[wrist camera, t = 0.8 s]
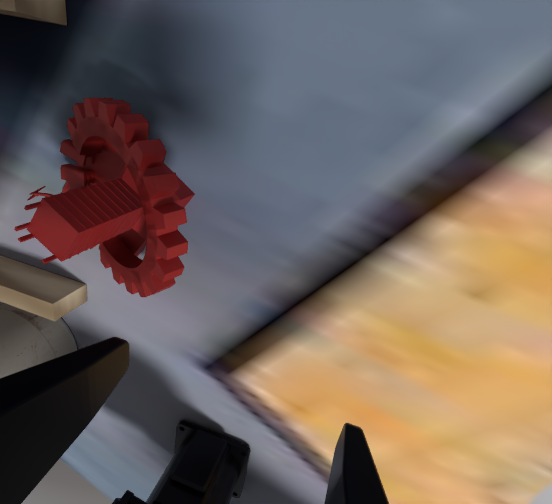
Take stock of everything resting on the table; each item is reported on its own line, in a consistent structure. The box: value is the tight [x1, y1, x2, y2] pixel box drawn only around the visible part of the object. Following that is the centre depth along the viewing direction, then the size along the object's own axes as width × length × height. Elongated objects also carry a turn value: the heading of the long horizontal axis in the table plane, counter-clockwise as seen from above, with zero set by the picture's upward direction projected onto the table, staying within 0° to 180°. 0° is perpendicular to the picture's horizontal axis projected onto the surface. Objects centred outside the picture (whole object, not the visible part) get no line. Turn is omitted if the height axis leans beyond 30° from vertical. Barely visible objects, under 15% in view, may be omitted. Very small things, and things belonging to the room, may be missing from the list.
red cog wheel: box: [14, 98, 194, 297], centre depth 18 cm, size 11×12×8 cm
